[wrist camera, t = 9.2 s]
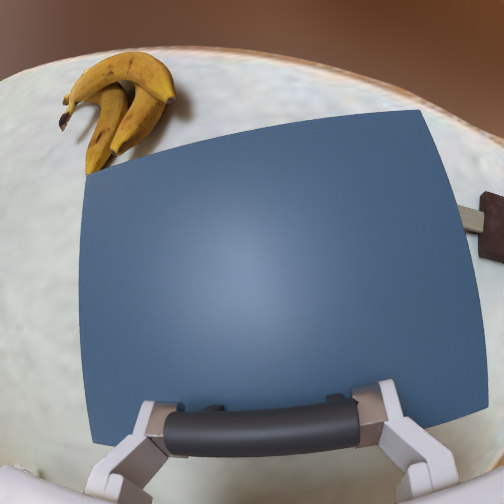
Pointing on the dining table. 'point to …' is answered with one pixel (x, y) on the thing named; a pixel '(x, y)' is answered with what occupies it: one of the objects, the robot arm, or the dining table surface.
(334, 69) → the dining table surface
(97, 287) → the cool box lid
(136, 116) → the banana
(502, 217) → the ice cream bar
